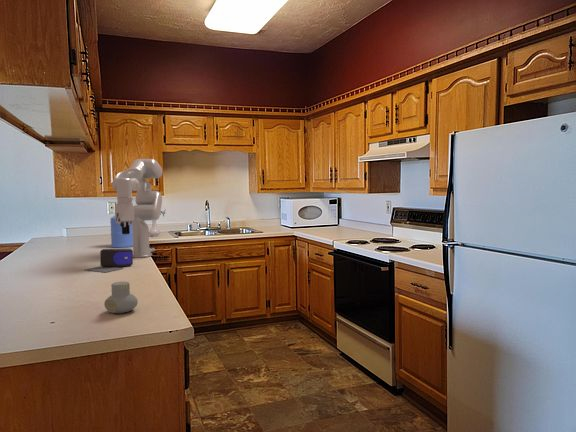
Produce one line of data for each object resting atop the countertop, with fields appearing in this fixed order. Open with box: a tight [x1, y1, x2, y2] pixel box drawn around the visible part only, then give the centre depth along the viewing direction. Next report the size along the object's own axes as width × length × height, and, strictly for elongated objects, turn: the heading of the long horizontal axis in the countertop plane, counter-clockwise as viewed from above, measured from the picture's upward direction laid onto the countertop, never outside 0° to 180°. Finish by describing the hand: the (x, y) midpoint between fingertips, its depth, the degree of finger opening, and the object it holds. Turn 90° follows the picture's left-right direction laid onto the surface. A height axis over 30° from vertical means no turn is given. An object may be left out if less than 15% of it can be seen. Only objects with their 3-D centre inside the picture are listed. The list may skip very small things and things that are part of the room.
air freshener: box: [104, 281, 139, 314], centre depth 153 cm, size 11×8×10 cm
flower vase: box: [149, 209, 166, 238], centre depth 375 cm, size 13×18×25 cm
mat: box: [83, 265, 124, 274], centre depth 229 cm, size 11×16×1 cm
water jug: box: [110, 215, 133, 249], centre depth 313 cm, size 16×16×28 cm
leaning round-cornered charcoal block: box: [99, 248, 134, 268], centre depth 235 cm, size 16×5×9 cm, turn 108°
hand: (125, 233), depth 241 cm, fingers closed
